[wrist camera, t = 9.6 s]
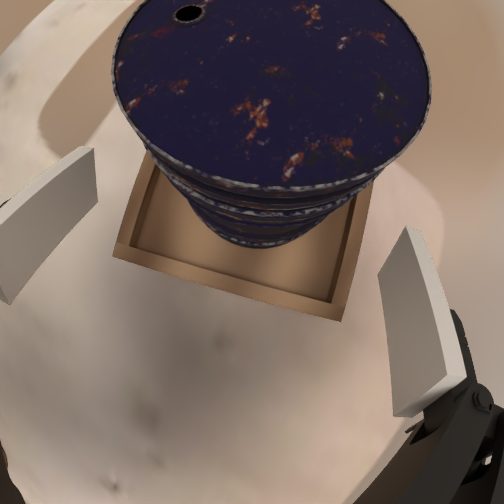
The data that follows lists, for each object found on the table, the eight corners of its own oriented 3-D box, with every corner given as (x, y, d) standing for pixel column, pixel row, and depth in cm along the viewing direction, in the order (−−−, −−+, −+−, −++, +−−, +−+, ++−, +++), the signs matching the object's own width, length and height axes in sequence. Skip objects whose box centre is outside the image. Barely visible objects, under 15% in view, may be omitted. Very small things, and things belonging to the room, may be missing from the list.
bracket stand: (138, 260, 26) (71, 249, 15) (195, 95, 27) (173, 16, 16) (322, 312, 26) (371, 336, 15) (361, 140, 27) (413, 76, 16)
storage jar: (344, 151, 23) (442, 19, 8) (298, 272, 22) (397, 263, 7) (223, 104, 23) (203, -57, 8) (167, 218, 22) (48, 126, 7)
